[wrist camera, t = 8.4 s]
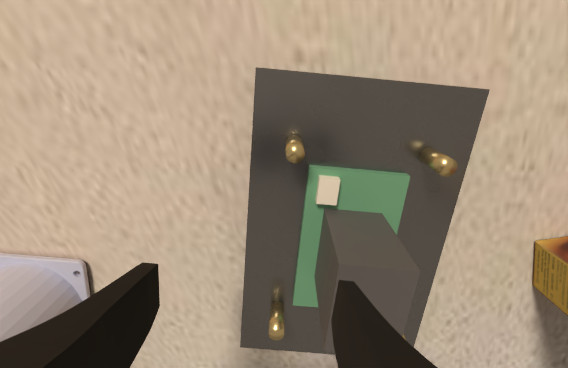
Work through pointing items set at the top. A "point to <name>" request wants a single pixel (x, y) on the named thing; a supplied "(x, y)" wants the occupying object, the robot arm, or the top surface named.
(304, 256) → the board
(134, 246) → the top surface
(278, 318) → the chassis plate
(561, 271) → the candy box
